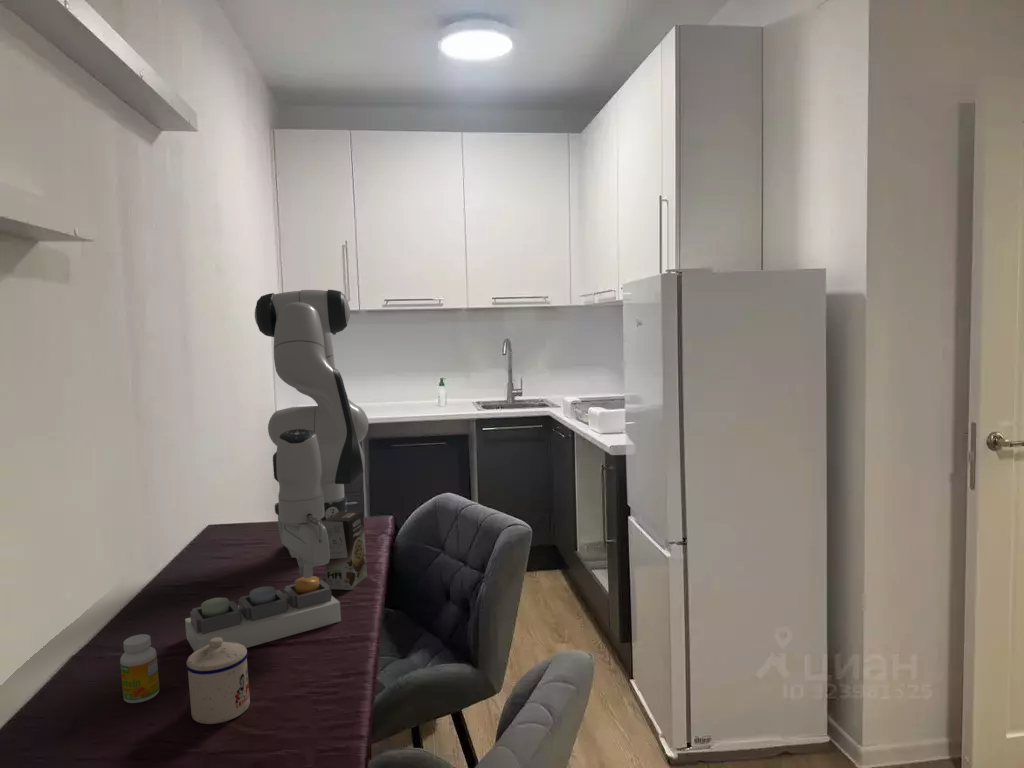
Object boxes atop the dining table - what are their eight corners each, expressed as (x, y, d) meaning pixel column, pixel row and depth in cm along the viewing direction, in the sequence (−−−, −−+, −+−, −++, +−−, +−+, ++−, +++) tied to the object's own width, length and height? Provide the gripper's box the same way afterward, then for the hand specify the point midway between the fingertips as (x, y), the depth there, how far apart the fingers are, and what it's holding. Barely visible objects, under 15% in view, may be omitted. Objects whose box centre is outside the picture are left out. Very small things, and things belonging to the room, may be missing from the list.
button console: (186, 638, 142) (184, 606, 141) (320, 603, 157) (318, 574, 156) (199, 660, 132) (197, 627, 131) (341, 621, 147) (339, 590, 147)
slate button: (247, 600, 145) (246, 590, 144) (271, 594, 147) (271, 584, 147) (254, 607, 141) (253, 597, 140) (278, 601, 143) (278, 591, 143)
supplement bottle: (116, 703, 118) (110, 646, 117) (137, 686, 123) (132, 631, 122) (146, 704, 117) (141, 647, 116) (166, 687, 123) (161, 632, 122)
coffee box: (352, 590, 164) (348, 521, 162) (326, 589, 165) (321, 520, 164) (368, 576, 173) (364, 510, 171) (343, 575, 174) (339, 509, 173)
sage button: (199, 611, 139) (198, 601, 139) (225, 605, 142) (224, 595, 142) (205, 619, 136) (204, 609, 135) (231, 613, 138) (231, 603, 138)
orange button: (292, 589, 150) (291, 579, 149) (314, 583, 152) (314, 574, 152) (299, 595, 146) (299, 586, 146) (322, 590, 148) (322, 580, 148)
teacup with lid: (250, 719, 112) (244, 646, 111) (186, 731, 109) (180, 656, 108) (254, 682, 123) (249, 616, 122) (196, 692, 121) (190, 625, 119)
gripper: (335, 517, 141) (339, 586, 142) (300, 498, 157) (305, 560, 159) (303, 523, 137) (308, 594, 138) (271, 503, 154) (276, 567, 155)
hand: (306, 576), depth 149 cm, fingers closed
